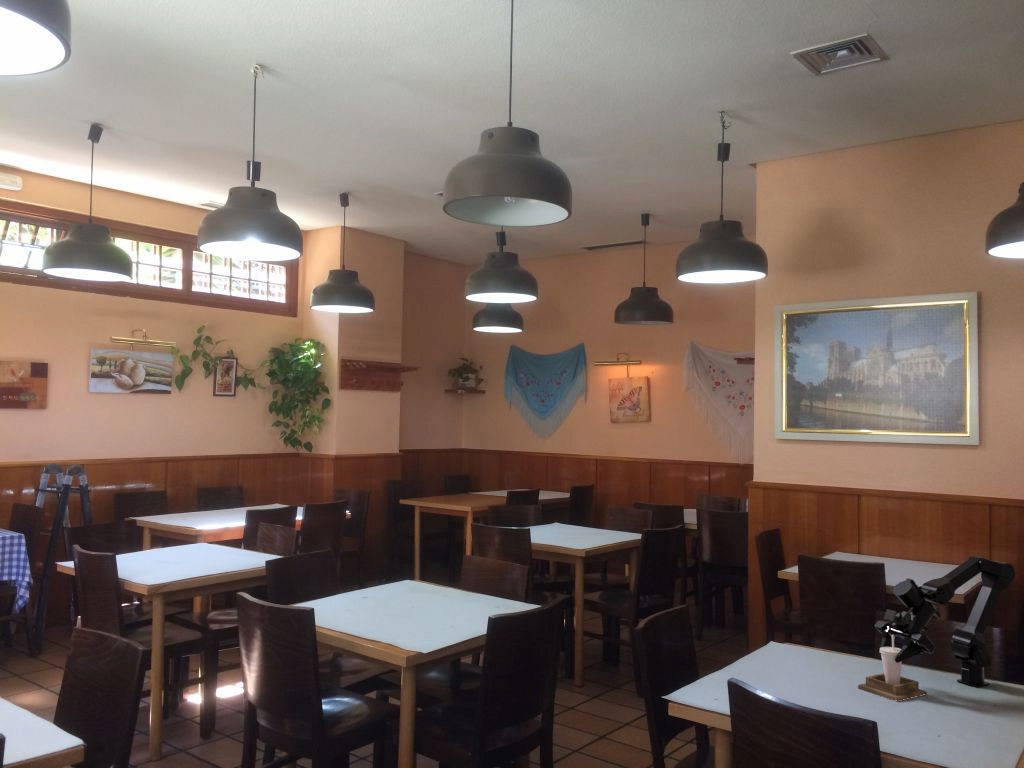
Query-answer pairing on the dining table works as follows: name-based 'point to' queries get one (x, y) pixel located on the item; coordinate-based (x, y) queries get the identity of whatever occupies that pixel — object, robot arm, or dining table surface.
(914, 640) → the robot arm
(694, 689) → the dining table surface
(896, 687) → the bottle stand
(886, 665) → the smoothie
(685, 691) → the dining table surface
